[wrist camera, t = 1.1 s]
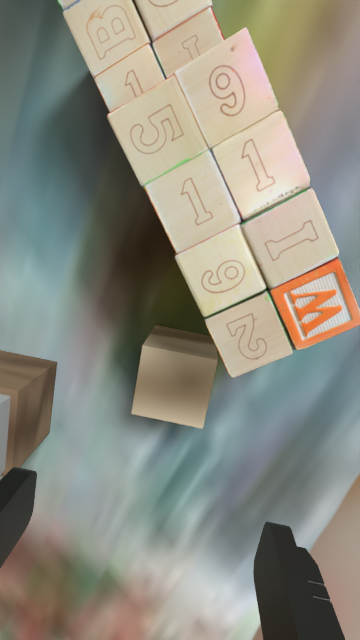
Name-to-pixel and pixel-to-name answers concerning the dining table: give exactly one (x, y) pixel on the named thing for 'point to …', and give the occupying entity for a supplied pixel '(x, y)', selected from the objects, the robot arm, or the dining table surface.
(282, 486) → the dining table surface
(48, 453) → the dining table surface
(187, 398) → the birch block
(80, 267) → the dining table surface
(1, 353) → the tower base
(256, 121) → the stack of blocks
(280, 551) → the robot arm
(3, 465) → the tower mid
